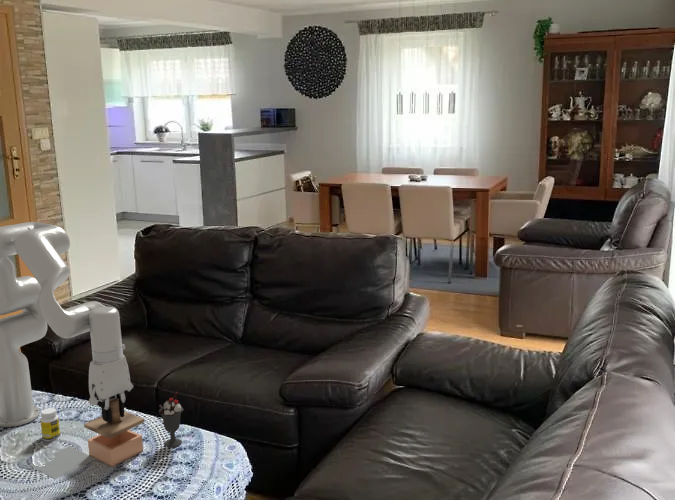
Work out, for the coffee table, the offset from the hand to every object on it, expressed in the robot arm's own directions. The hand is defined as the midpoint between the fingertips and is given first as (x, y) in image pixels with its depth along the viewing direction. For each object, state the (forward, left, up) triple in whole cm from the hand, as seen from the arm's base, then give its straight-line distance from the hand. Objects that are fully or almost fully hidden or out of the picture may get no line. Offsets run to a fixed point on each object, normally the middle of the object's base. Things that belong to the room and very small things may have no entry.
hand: (113, 417), depth 181 cm
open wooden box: (0, 0, -11) cm, 11 cm away
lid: (0, 0, -2) cm, 2 cm away
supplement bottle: (-23, -5, -11) cm, 26 cm away
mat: (-8, -11, -11) cm, 18 cm away
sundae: (+8, +13, -11) cm, 19 cm away
